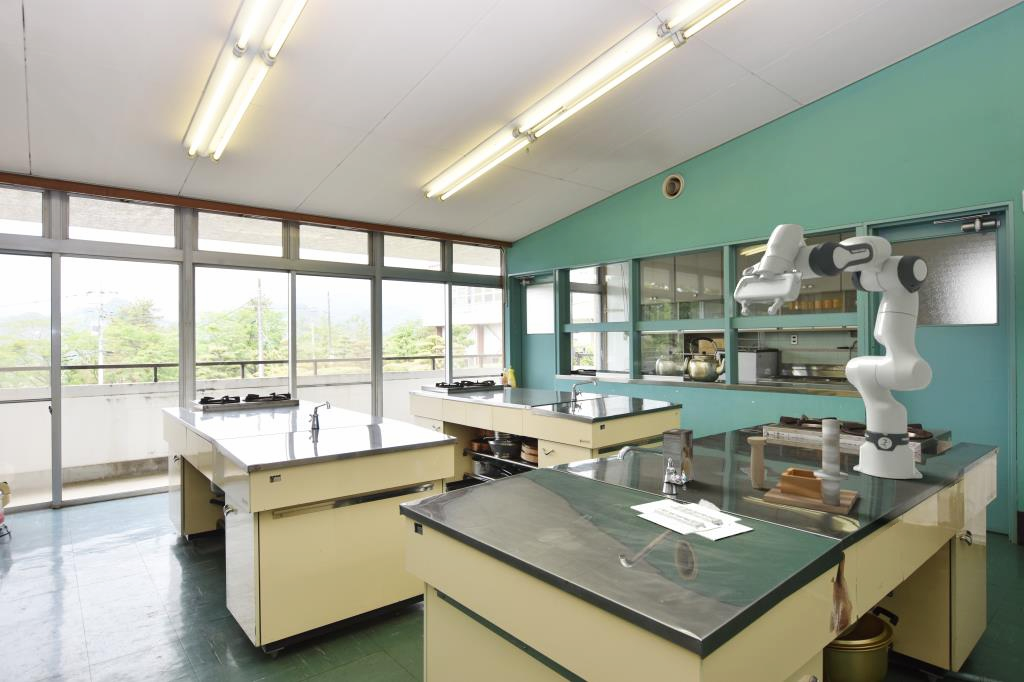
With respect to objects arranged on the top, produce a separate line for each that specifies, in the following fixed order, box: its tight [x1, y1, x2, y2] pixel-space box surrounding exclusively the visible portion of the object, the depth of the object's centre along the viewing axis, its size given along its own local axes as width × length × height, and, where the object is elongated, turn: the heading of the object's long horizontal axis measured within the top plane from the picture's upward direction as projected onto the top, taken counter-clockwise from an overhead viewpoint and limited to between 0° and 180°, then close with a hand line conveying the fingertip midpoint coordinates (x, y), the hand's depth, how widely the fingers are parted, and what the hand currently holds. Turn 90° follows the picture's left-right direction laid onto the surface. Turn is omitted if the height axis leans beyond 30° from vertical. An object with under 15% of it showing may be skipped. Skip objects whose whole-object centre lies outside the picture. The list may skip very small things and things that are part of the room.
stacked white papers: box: [630, 498, 755, 542], centre depth 138 cm, size 20×28×4 cm
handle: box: [747, 436, 768, 490], centre depth 165 cm, size 5×6×15 cm
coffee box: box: [662, 428, 694, 483], centre depth 174 cm, size 9×6×16 cm
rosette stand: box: [763, 418, 859, 516], centre depth 153 cm, size 21×20×24 cm
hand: (757, 314), depth 159 cm, fingers open, 8 cm apart
